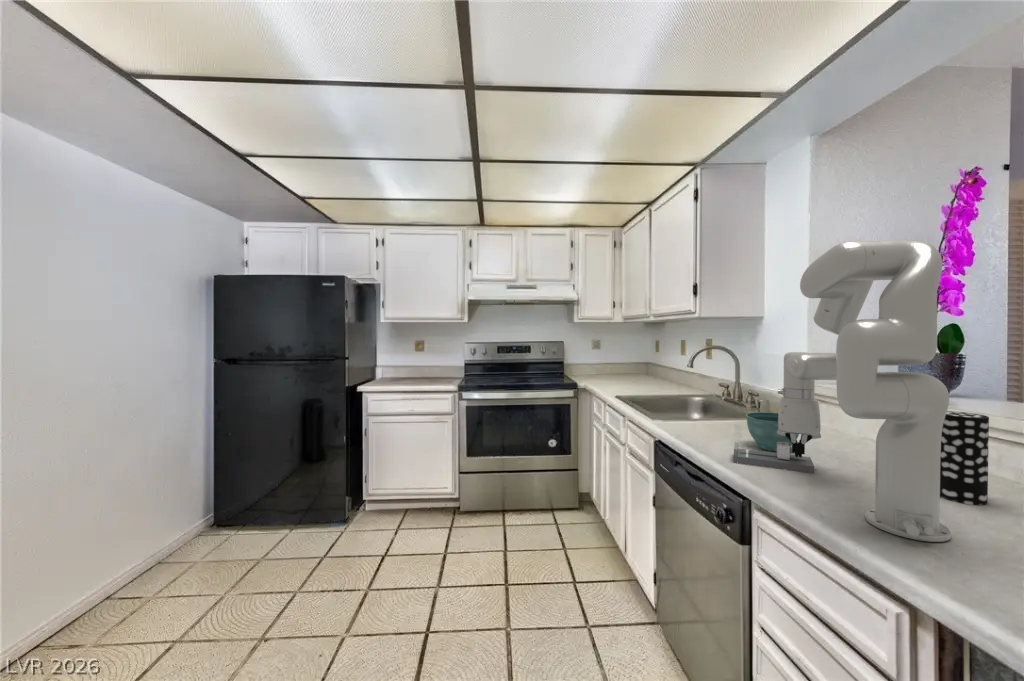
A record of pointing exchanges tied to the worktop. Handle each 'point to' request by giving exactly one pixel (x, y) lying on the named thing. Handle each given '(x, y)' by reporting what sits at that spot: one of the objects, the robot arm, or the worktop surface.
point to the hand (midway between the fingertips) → (798, 455)
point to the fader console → (772, 460)
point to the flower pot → (765, 430)
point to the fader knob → (783, 450)
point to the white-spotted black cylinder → (964, 458)
